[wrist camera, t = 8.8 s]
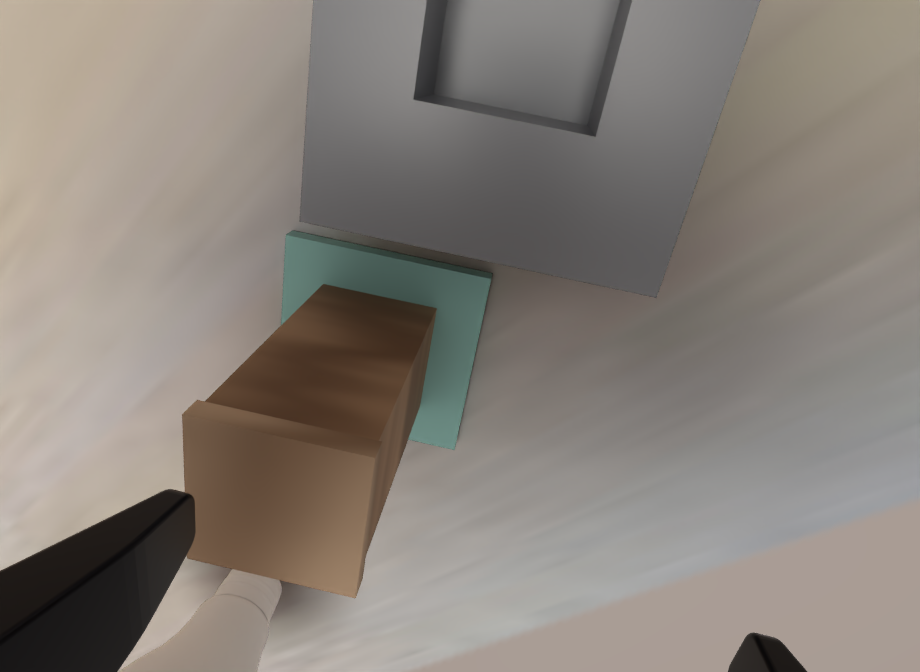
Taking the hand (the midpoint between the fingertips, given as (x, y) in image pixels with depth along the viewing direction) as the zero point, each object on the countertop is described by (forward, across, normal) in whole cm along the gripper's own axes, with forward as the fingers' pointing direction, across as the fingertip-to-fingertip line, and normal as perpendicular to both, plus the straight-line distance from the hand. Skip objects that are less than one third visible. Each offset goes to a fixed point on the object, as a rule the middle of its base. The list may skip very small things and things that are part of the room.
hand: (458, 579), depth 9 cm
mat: (+12, +4, +3) cm, 13 cm away
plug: (+11, +4, +2) cm, 13 cm away
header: (+12, +1, -8) cm, 15 cm away
